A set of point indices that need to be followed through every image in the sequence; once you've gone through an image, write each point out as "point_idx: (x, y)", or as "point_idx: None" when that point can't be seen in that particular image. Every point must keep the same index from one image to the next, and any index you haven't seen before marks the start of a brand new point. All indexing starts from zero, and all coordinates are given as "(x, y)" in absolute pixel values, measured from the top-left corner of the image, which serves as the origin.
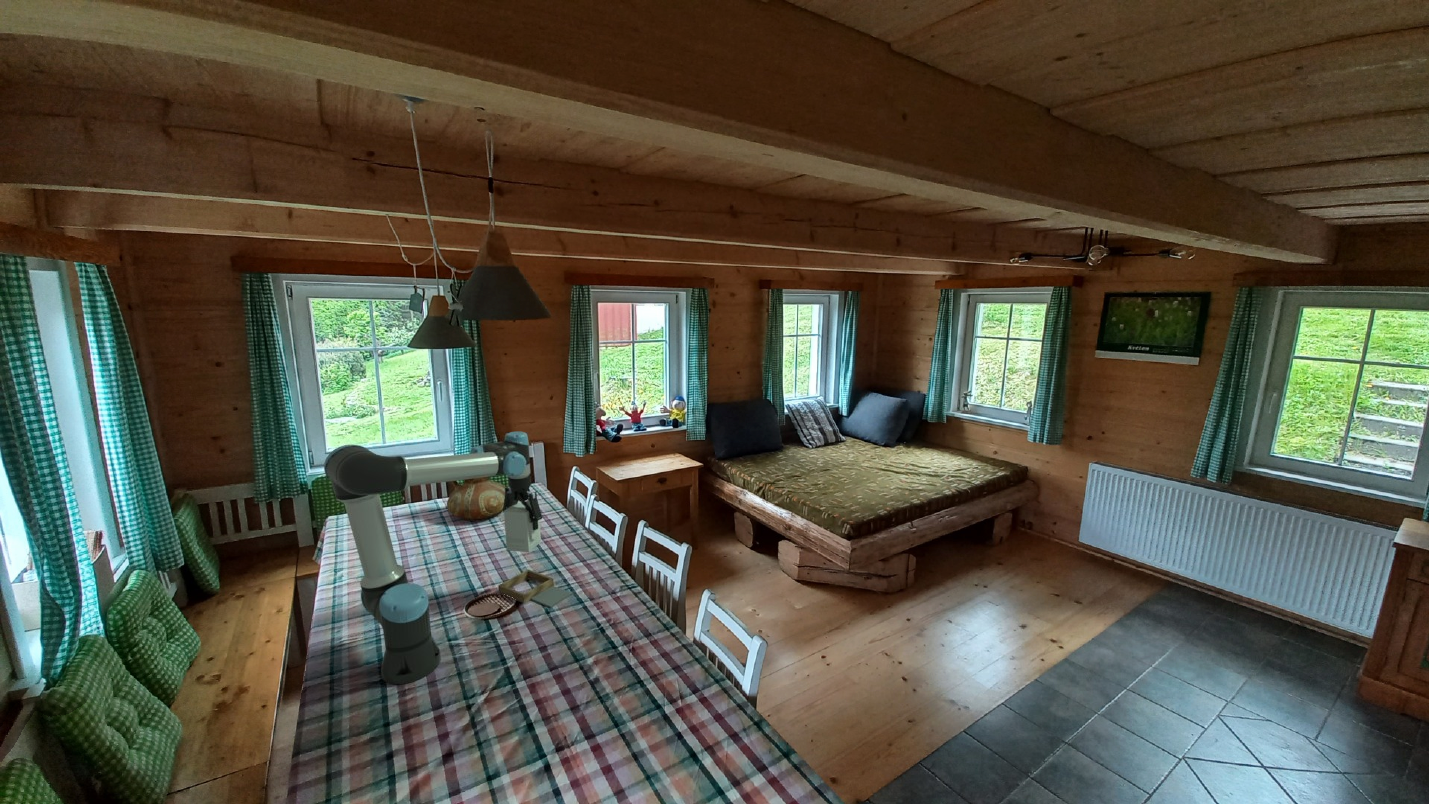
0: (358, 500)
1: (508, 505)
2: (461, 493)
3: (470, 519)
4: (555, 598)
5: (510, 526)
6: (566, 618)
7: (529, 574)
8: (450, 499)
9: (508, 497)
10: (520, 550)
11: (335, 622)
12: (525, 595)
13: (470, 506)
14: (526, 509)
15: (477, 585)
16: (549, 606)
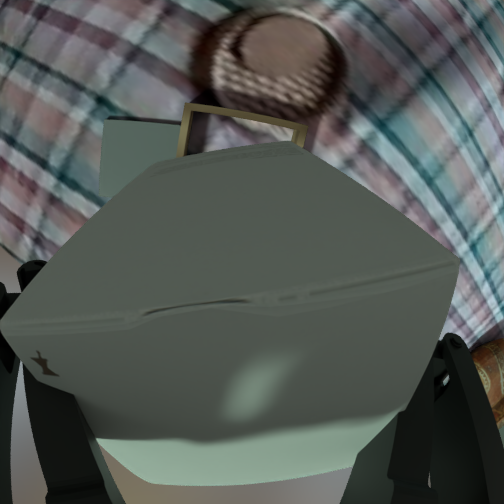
0: None
1: (440, 400)
2: None
3: (483, 345)
4: (118, 155)
5: (278, 178)
6: (50, 106)
7: None
8: None
9: (468, 478)
10: (200, 153)
11: (497, 2)
12: (184, 109)
13: (495, 360)
14: (69, 407)
15: (382, 145)
16: (110, 119)
